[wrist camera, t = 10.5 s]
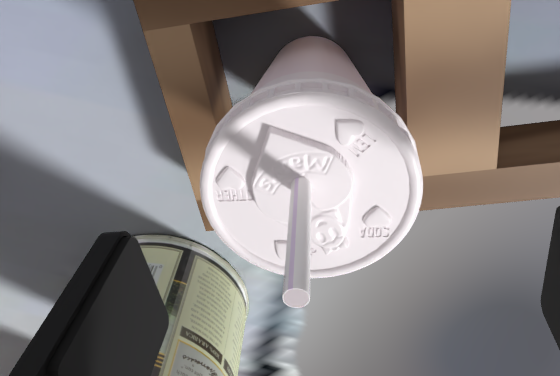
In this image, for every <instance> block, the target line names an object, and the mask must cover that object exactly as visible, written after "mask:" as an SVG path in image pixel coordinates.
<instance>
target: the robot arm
mask: <svg viewBox="0 0 560 376" xmlns="http://www.w3.org/2000/svg"><path fill="white" fill-rule="evenodd" d="M541 307H542V311H543V314H544V317H545V319H546V321H547V323H548V325H549V328H550V330H551V332H552V334H553V336H554V339H555V340H556V343H557V345H558V347H559V350H560V206H559V207H558V208H557V210H556V214H555V219H554V225H553V231H552V237H551V242H550V248H549V254H548V260H547V266H546V271H545V278H544V283H543V290H542V295H541ZM168 326H169V315H168V312H167V310H166V307H165V305H164V302H163V300H162V298H161V295H160V293H159V290H158V288H157V286H156V283H155V281H154V278H153V276H152V274H151V271H150V269H149V266H148V264H147V262H146V259H145V257H144V254H143V252H142V250H141V247H140V245H139V242H138V240H137V239H136V238H135V237H131V236H130V234H129V233H128V232H125V231H121V232H108V233H102V234H101V235H100V236H99V237H98V238H97V240H96V241H95V243H94V245H93V246H92V248H91V249H90V251H89V252H88V254H87V255H86V257H85V258H84V260H83V262H82V263H81V265H80V266H79V268H78V269H77V271H76V272H75V274H74V276H73V277H72V279H71V280H70V282H69V283H68V285H67V286H66V288H65V289H64V291H63V293H62V294H61V296H60V297H59V299H58V300H57V302H56V303H55V305H54V306H53V308H52V310H51V311H50V313H49V314H48V316H47V317H46V319H45V320H44V322H43V323H42V325H41V327H40V328H39V330H38V331H37V333H36V334H35V336H34V337H33V339H32V340H31V342H30V344H29V345H28V347H27V348H26V350H25V351H24V353H23V354H22V356H21V358H20V359H19V361H18V362H17V364H16V365H15V367H14V368H13V370H12V371H11V373H10V375H9V376H151V373H152V370H153V368H154V365H155V362H156V360H157V357H158V354H159V351H160V349H161V346H162V343H163V341H164V338H165V335H166V332H167V330H168Z"/></svg>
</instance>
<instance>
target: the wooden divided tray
mask: <svg viewBox="0 0 560 376" xmlns="http://www.w3.org/2000/svg"><path fill="white" fill-rule="evenodd" d="M133 1H134V4H135V7H136V11H137V14H138V17H139V20H140V23H141V26H142V30H143V33H144V36H145V39H146V42H147V46H148V49H149V52H150V55H151V58H152V61H153V65H154V68H155V71H156V74H157V77H158V80H159V84H160V87H161V90H162V93H163V96H164V99H165V103H166V106H167V109H168V112H169V115H170V118H171V122H172V125H173V128H174V131H175V134H176V137H177V141H178V144H179V147H180V150H181V153H182V156H183V160H184V163H185V166H186V169H187V172H188V176H189V179H190V182H191V185H192V188H193V191H194V195H195V198H196V201H197V204H198V207H199V210H200V214H201V217H202V220H203V223H204V226H205V229H206V231H213V230H214V229H213V228H212V226H211V224H210V222H209V220H208V218H207V216H206V214H205V211H204V208H203V205H202V201H201V194H200V174H201V169H202V164H203V161H204V158H205V151H206V147H207V145H208V143H209V141H210V138H211V136H212V134H213V132H214V130H215V127H216V125H217V124H218V123H219V122H220V121H221V120H222V118H223V117H224V116H225V115H226V114H227V113H228V112H229V111H230V109H231V108H232V103H231V98H230V94H229V90H228V86H227V81H226V77H225V73H224V69H223V65H222V60H221V56H220V52H219V48H218V43H217V39H216V35H215V31H214V27H213V22H212V20H218V19H224V18H231V17H237V16H243V15H249V14H256V13H262V12H268V11H274V10H281V9H287V8H293V7H299V6H306V5H312V4H318V3H325V2H331V1H337V0H133ZM391 2H392V27H393V51H394V76H395V100H396V113H397V114H398V115H399V116H400V117H401V118H402V120H403V122H404V123H405V125H406V127H407V128H408V130H409V132H410V134H411V135H412V137H413V139H414V140H415V144H416V148H417V153H418V157H419V162H420V165H421V170H422V176H423V195H422V201H421V205H420V209H419V211H421V210H432V209H443V208H453V207H463V206H474V205H485V204H494V203H505V202H516V201H526V200H537V199H547V198H558V197H560V120H557V121H548V122H540V123H531V124H523V125H514V126H506V127H500V122H501V112H502V100H503V88H504V77H505V65H506V54H507V42H508V30H509V19H510V7H511V0H391Z"/></svg>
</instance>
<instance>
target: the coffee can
mask: <svg viewBox="0 0 560 376" xmlns="http://www.w3.org/2000/svg"><path fill="white" fill-rule="evenodd" d="M132 237H135V238H136V239H137V240H138V242H139V245H140V247H141V250H142V252H143V254H144V257H145V259H146V262H147V264H148V266H149V269H150V271H151V274H152V276H153V278H154V281H155V283H156V286H157V288H158V290H159V293H160V295H161V298H162V300H163V302H164V305H165V307H166V310H167V312H168V315H169V326H168V330H167V332H166V335H165V338H164V341H163V343H162V346H161V349H160V351H159V354H158V357H157V360H156V362H155V365H154V368H153V370H152V373H151V376H237V375H238V369H239V362H240V354H241V348H242V341H243V335H244V328H245V321H246V318H247V315H248V311H249V299H248V294H247V290H246V287H245V285H244V283H243V281H242V279H241V278H240V276H239V275H238V273H237V272H236V271H235V270H234V269H233V268H232V266H231V265H230V264H229V263H228V262H227V261H225V260H224V259H222V258H221V257H220V256H218V255H217V254H216V253H214V252H212V251H211V250H209V249H208V248H206V247H204V246H202V245H200V244H197V243H194V242H192V241H189V240H186V239H182V238H178V237H174V236H170V235H139V236H132Z"/></svg>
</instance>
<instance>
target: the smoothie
mask: <svg viewBox="0 0 560 376" xmlns="http://www.w3.org/2000/svg"><path fill="white" fill-rule="evenodd" d="M200 194H201V201H202V205H203V208H204V211H205V214H206V216H207V218H208V220H209V222H210V224H211V226H212V228H213V229H214V231H215V232H216V233H217V235H218V236H219V237H220V239H221V240H222V241H223V242H224V243H225V244H226V245H227V246H228V247H229V248H230V249H231V250H233V251H234V252H235V253H236V254H238V255H239V256H240V257H242V258H243V259H245V260H247V261H248V262H250V263H252V264H254V265H256V266H258V267H260V268H263V269H265V270H268V271H271V272H274V273H277V274H281V275H284V285H283V301H284V303H285V304H286V305H288V306H290V307H293V308H300V307H304V306H306V305H307V304H308V303H309V301H310V278H324V277H333V276H338V275H343V274H346V273H350V272H353V271H356V270H359V269H361V268H364V267H366V266H368V265H370V264H372V263H374V262H375V261H377V260H379V259H380V258H382V257H383V256H385V255H386V254H387V253H389V252H390V251H391V250H392V249H393V248H394V247H395V246H397V245H398V244H399V242H400V241H401V240H402V239H403V238H404V237H405V236H406V234H407V233H408V231H409V230H410V228H411V227H412V225H413V223H414V221H415V219H416V217H417V214H418V212H419V209H420V205H421V201H422V195H423V176H422V170H421V165H420V162H419V157H418V153H417V148H416V144H415V140H414V139H413V137H412V135H411V134H410V132H409V130H408V128H407V127H406V125H405V123H404V122H403V120H402V118H401V117H400V116H399V115H398V114H397V113H396V112H394V111H393V110H392V109H391V108H390V107H389V106H388V105H387V104H386V103H385V102H384V101H382V100H381V99H380V98H379V97H377V96H375V95H373V94H372V92H371V91H370V89H369V88H368V86H367V85H366V83H365V82H364V80H363V79H362V77H361V76H360V74H359V72H358V71H357V69H356V68H355V66H354V65H353V63H352V62H351V60H350V59H349V57H348V55H347V54H346V53H345V51H344V50H343V49H342V48H341V47H340V46H339V45H338V44H336V43H335V42H333V41H331V40H329V39H327V38H323V37H319V36H306V37H301V38H298V39H296V40H293V41H291V42H290V43H288V44H287V45H286V46H284V47H283V48H282V49H281V50H280V52H279V53H278V54H277V56H276V57H275V59H274V60H273V62H272V63H271V65H270V66H269V68H268V69H267V71H266V72H265V73H264V75H263V76H262V78H261V79H260V81H259V82H258V84H257V85H256V87H255V88H254V90H253V91H252V93H251V94H250V95H249V96H247V97H246V98H244V99H243V100H241V101H240V102H238V103H236V104H235V105H234V106H233V107H232V108H231V109H230V111H229V112H228V113H227V114H226V115H225V116H224V117H223V118H222V120H221V121H220V122H219V123H218V124H217V125H216V127H215V130H214V132H213V134H212V136H211V138H210V141H209V143H208V145H207V147H206V151H205V158H204V161H203V164H202V169H201V174H200Z"/></svg>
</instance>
